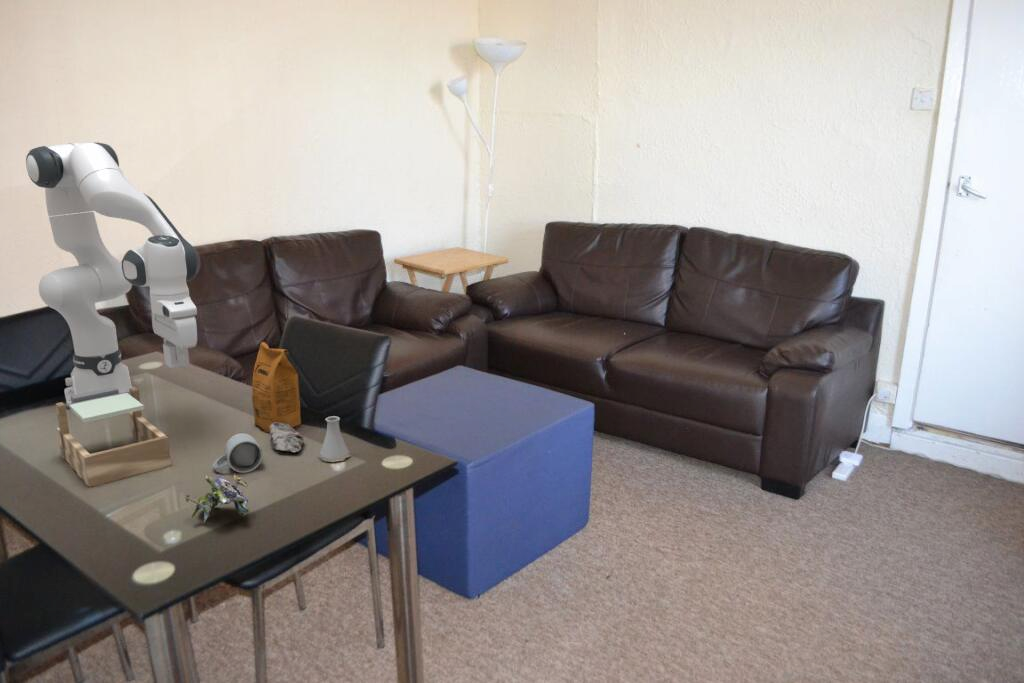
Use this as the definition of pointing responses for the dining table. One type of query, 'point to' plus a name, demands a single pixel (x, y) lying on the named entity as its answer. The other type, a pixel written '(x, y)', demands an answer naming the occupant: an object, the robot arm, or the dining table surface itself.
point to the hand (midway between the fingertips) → (176, 358)
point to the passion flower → (222, 496)
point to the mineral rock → (285, 437)
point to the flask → (333, 441)
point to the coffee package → (275, 389)
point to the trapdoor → (103, 404)
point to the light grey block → (173, 356)
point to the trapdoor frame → (115, 451)
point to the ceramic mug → (240, 454)
